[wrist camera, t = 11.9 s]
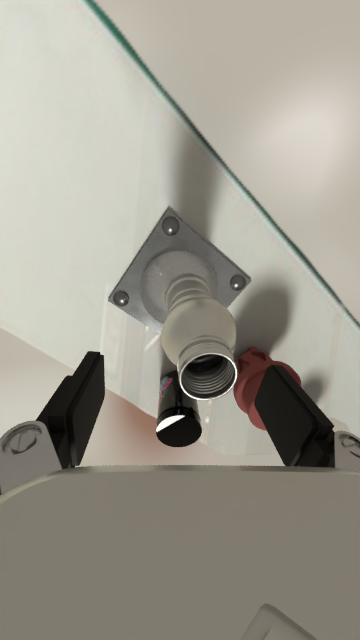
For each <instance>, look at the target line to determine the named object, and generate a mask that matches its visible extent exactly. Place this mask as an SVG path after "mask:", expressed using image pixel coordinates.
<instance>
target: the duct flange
mask: <svg viewBox="0 0 360 640" xmlns="http://www.w3.org/2000/svg"><path fill="white" fill-rule="evenodd" d="M185 273H193V274H196V275H199V276H201V277H202V278H203V279H204V280H205V281H206V282H207V283H208V285H209V288H210V292H211V297H212V298H213V299H214V300H216V301H218V302H219V303H221V304H222V305H223V306H224V307H225V308H227V307H228V306H229V305H230V304H231V303H232V302H233V301H234V300H235V298H236V297H237V296H238V295H239V294H240V293H241V292H242V291H243V290H244V288H245V287H246V286H247V285H248V284H249V283H250V282H251V280H250V279H248V278H247V277H246V276H245V275H244V274H243V273H241V272H240V271H239V270H238V269H237V268H236V267H235V266H233V265H232V264H231V263H230V262H229V261H228V260H227V259H225V258H224V257H223V256H222V255H221V254H220V253H218V252H217V251H216V250H215V249H214V248H213V247H212V246H210V245H209V244H208V243H207V242H206V241H205V240H204V239H202V238H201V237H200V236H199V235H198V234H197V233H195V232H194V231H193V230H192V229H191V228H190V227H189V226H187V225H186V224H185V223H184V222H183V221H182V220H181V219H179V218H178V217H177V216H176V215H175V214H174V213H172V212H171V211H170V210H169V209H168V210H167V212H166V213H165V215H164V216H163V218H162V219H161V221H160V222H159V224H158V225H157V227H156V228H155V230H154V231H153V233H152V235H151V236H150V238H149V239H148V241H147V242H146V244H145V245H144V247H143V248H142V250H141V251H140V253H139V254H138V256H137V257H136V259H135V260H134V262H133V263H132V265H131V266H130V268H129V269H128V271H127V272H126V274H125V275H124V277H123V278H122V280H121V282H120V283H119V285H118V286H117V288H116V289H115V291H114V292H113V294H112V295H111V297H110V298H109V300H108V301H109V302H111V303H112V304H114V305H115V306H117V307H118V308H120V309H122V310H123V311H125V312H126V313H128V314H129V315H131V316H132V317H134V318H136V319H137V320H139V321H140V322H142V323H143V324H145V325H146V326H148V327H149V328H151V329H153V330H154V331H156V332H157V333H159V334H160V335H161V330H162V326H163V323H164V320H165V318H166V316H167V314H168V309H167V307H166V304H165V291H166V288H167V286H168V284H169V283H170V282H171V281H172V280H173V279H174V278H175V277H177V276H179V275H181V274H185Z"/></svg>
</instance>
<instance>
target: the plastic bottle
mask: <svg viewBox="0 0 360 640" xmlns="http://www.w3.org/2000/svg"><path fill="white" fill-rule="evenodd" d="M165 304H166V307H167V309H168V314H167V316H166V318H165V320H164V323H163V326H162V330H161V343H162V346H163V349H164V351H165V353H166V355H167V356H168V358H169V359H170V361H171V362H172V363H174V364H175V365H176V366H177V371H178V378H179V383H180V386H181V388H182V390H183V391H184V392H185V393H186V394H187V395H188V396H190V397H191V398H194V399H197V400H213V399H216V398H219V397H221V396H223V395H225V394H226V393H228V392H229V391H230V390H231V389H232V387H233V386H234V385H235V383H236V381H237V377H238V370H237V365H236V363H235V361H234V357H233V353H232V350H233V348H234V346H235V342H236V325H235V321H234V319H233V317H232V314H231V313H230V312H229V311H228V309H227V308H225V307H224V306H223V305H222V304H221V303H219V302H218V301H216V300H214V299H213V298H212V297H211V292H210V288H209V285H208V283H207V282H206V281H205V280H204V279H203V278H202V277H201V276H199V275H196V274H193V273H185V274H181V275H179V276H177V277H175V278H174V279H173V280H172V281H171V282H170V283H169V284H168V286H167V288H166V291H165Z"/></svg>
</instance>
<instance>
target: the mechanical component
mask: <svg viewBox="0 0 360 640" xmlns="http://www.w3.org/2000/svg"><path fill="white" fill-rule="evenodd" d="M235 363H236V365H237V370H238V377H237V381H236V383H235V385H234V390H233V391H234V397H235V400H236V402H237V405H238V406H239V408H240V409H241V410H242V411H243V412H245V413H247V414H248V416H249V419H250V421H251V422H252V424H253V425H254V426H256V427H257V428H259V429H262V430H266V428H265V426H264V424H263V422H262V420H261V418H260V416H259V414H258V412H257V410H256V408H255V405H254V400H255V397H256V395H257V392H258V390H259V387H260V384H261V382H262V379H263V377H264V374H265V371H266V369H267V367H269V366H270V365H281V366H283V367H284V368H285V369H286V371H287V372H288V373H289V374H290V375H291V376H292V377H293V379H294V380H295V381H296V382H297V383H298V384H299V386H300V387H301V380H300V377H299V376H298V374H297V373H296V372H295V371H294V370H293V369H292V368H291V367H290V366H289V365H287V364H285V363H283V362H279V361H273V360H272V359H271V358H270V357H269V356H268V355H267V354H266V353H264V352H262V351H258V350H257V349H256V348H255V347H251V348H249V350H248V352H247V353H245V354H243V355H241V356H240V357H239V358H238V359H237V360H236V362H235ZM266 431H267V430H266Z"/></svg>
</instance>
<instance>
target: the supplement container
mask: <svg viewBox="0 0 360 640" xmlns="http://www.w3.org/2000/svg"><path fill="white" fill-rule="evenodd" d="M201 433H202V428H201V421H200V416H199V411H198V404H197V399H194V398H191V397H190V396H188V395H187V394H186V393H185V392H184V391H183V390H182V388H181V386H180V383H179V378H178V371H174V372H170V373H168V374H166V375H165V376H164V377H163V378H162V380H161V382H160V390H159V404H158V418H157V429H156V434H157V437H158V439H159V440H160V441H161V442H162V443H164V444H165V445H168V446H172V447H184V446H188V445H190V444H192V443H194V442H196V441H197V440H198V439H199V437H200V436H201Z"/></svg>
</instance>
